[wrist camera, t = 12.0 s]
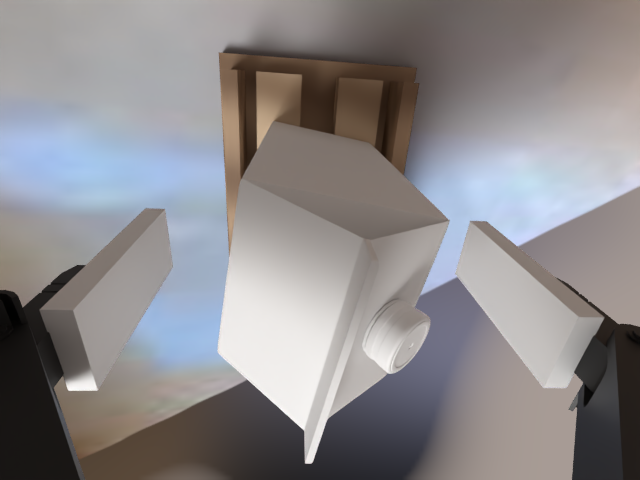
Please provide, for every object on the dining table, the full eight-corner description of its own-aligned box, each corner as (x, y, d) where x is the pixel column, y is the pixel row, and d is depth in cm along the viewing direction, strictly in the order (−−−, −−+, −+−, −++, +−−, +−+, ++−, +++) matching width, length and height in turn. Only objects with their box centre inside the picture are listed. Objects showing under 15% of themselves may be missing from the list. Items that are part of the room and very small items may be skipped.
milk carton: (257, 213, 27) (186, 454, 10) (272, 119, 24) (208, 231, 7) (345, 230, 28) (418, 474, 11) (370, 142, 25) (522, 286, 8)
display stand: (221, 53, 25) (206, 49, 21) (412, 68, 26) (433, 66, 22) (231, 251, 32) (221, 277, 28) (382, 256, 33) (393, 282, 29)
